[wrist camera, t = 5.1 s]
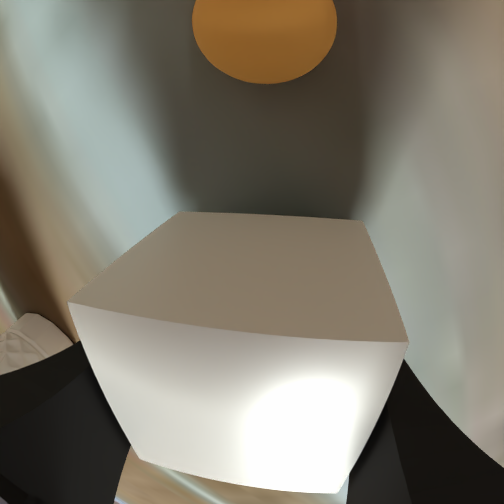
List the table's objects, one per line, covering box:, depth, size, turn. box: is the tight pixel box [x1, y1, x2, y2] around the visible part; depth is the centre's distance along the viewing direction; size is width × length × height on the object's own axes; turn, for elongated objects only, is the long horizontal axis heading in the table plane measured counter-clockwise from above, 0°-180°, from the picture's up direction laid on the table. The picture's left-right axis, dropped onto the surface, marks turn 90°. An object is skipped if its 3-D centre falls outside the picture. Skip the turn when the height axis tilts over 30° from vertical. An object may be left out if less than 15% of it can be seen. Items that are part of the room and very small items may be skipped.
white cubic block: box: [67, 211, 409, 493], centre depth 8 cm, size 6×6×6 cm
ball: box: [192, 0, 337, 84], centre depth 6 cm, size 4×4×4 cm
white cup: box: [0, 313, 73, 375], centre depth 14 cm, size 8×8×10 cm
